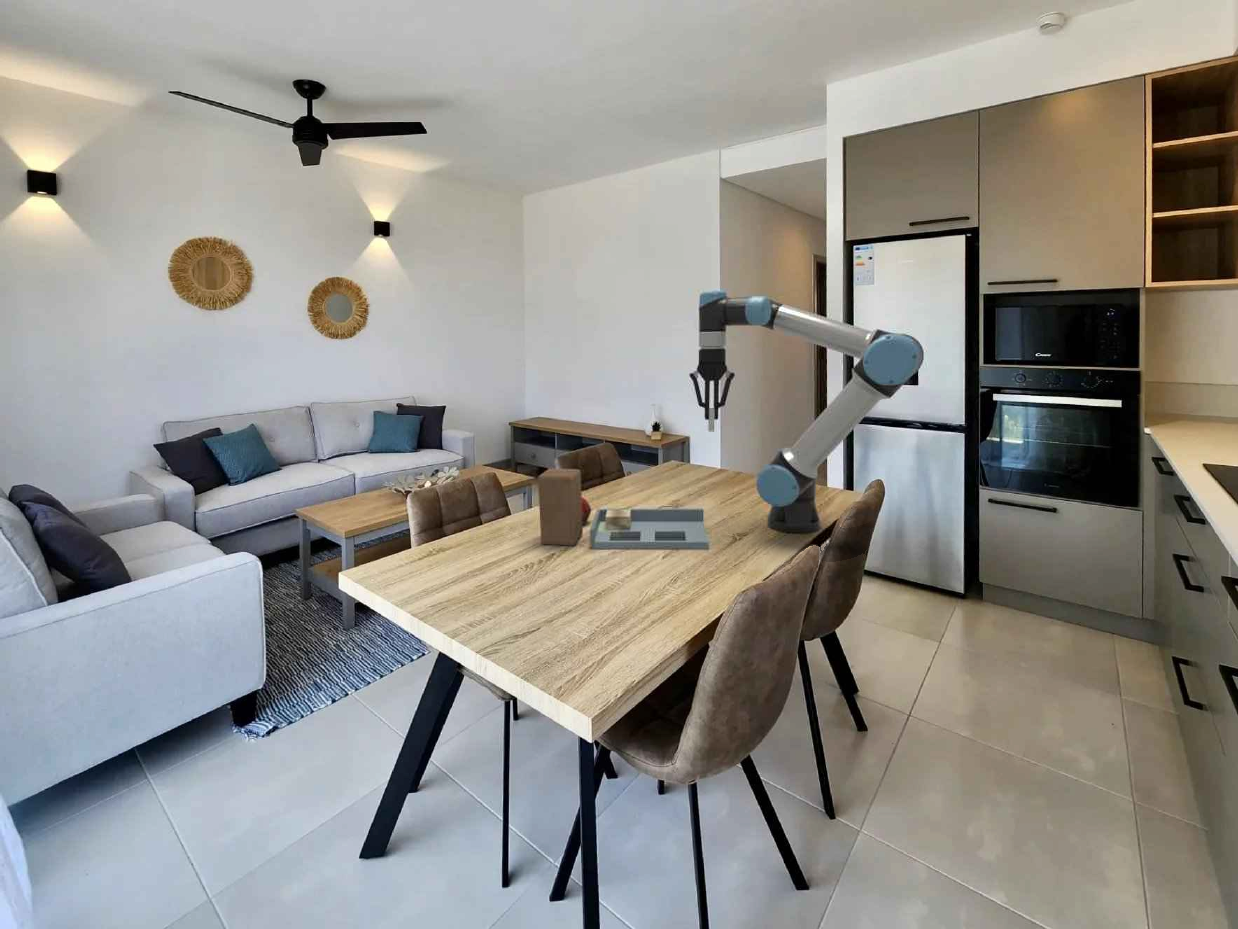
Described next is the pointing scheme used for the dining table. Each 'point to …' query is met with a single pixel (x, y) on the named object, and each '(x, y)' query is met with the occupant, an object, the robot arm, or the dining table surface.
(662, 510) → the board
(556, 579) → the dining table surface
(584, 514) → the fruit
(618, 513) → the beech block
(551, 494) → the wooden block
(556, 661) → the dining table surface
